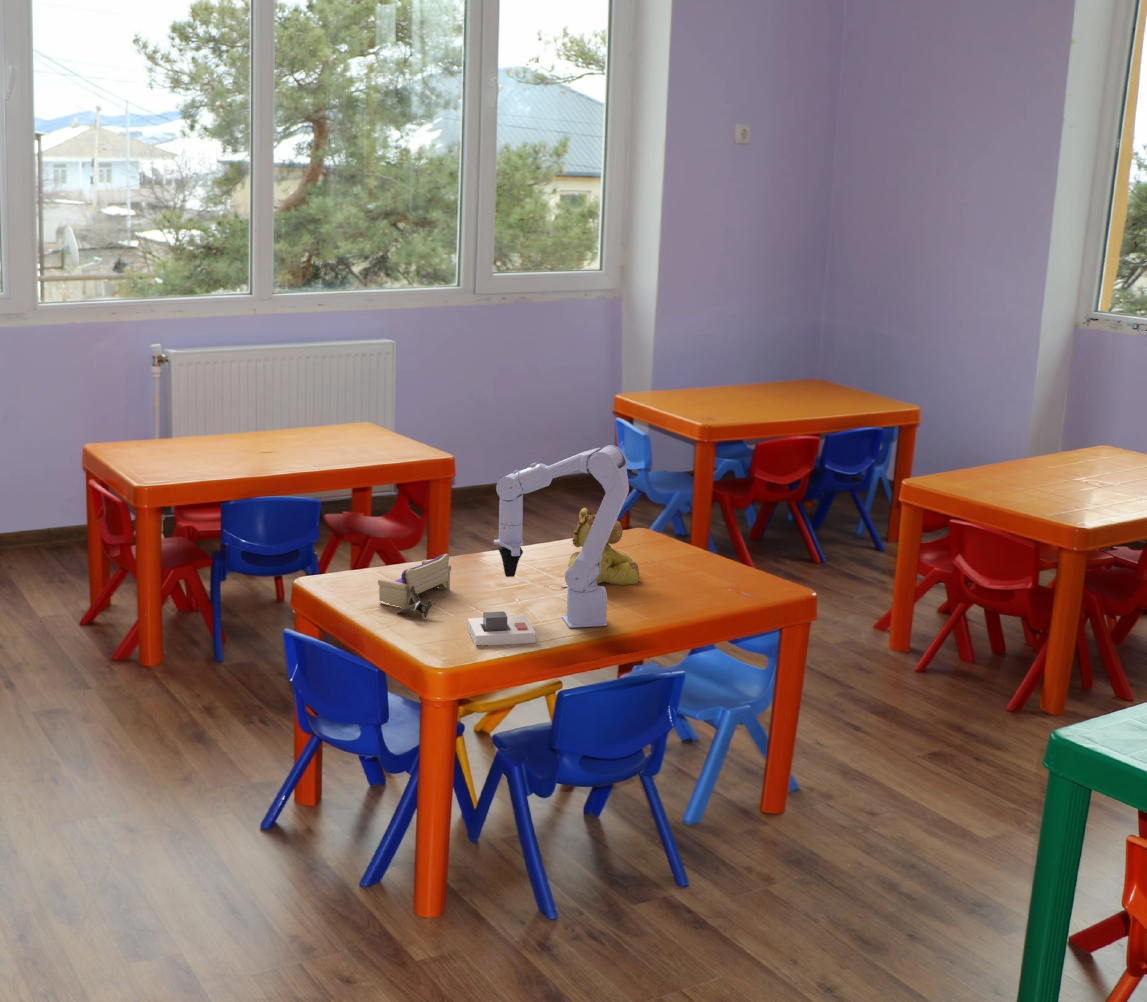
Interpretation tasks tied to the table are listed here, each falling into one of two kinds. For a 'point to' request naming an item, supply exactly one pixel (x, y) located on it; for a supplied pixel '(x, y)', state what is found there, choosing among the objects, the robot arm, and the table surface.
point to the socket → (503, 632)
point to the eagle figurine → (417, 604)
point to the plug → (494, 621)
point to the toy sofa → (416, 581)
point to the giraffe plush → (606, 554)
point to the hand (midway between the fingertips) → (509, 576)
